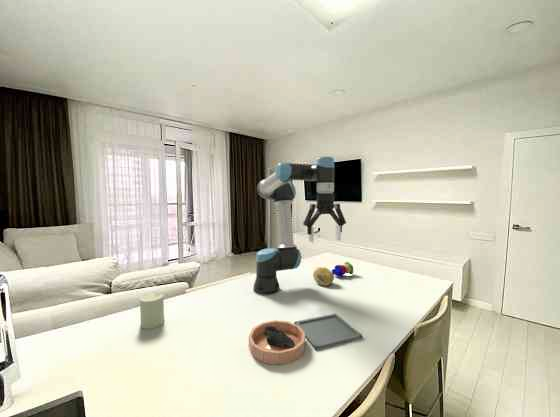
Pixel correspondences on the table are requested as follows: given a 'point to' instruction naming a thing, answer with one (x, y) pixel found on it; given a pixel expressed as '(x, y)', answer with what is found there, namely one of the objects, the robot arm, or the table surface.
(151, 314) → the can
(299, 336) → the bowl
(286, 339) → the stone
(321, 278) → the stone
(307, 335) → the tray
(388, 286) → the table surface
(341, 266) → the toy figure
